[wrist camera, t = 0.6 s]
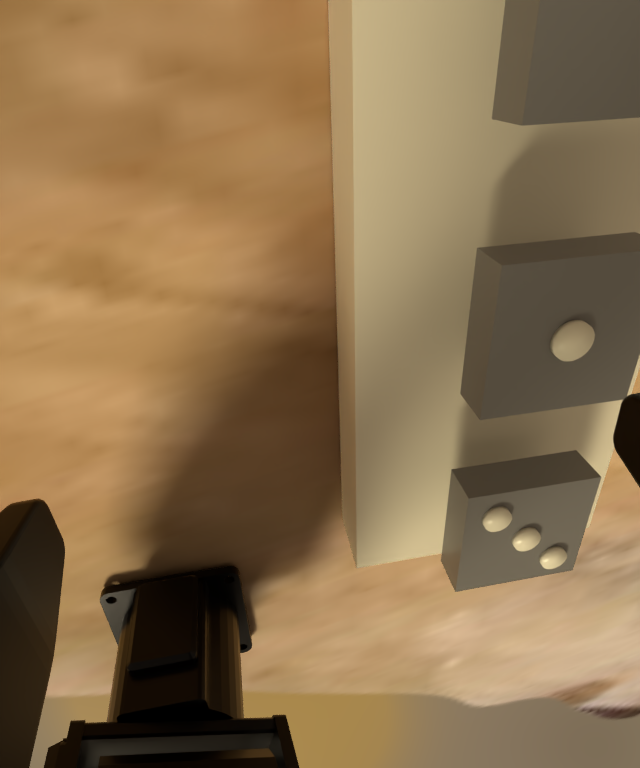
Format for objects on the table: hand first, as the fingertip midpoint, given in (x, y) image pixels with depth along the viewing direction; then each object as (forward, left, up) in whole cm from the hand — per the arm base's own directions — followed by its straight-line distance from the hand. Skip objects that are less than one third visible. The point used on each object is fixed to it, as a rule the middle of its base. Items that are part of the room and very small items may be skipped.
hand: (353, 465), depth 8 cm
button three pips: (-10, -8, -7) cm, 14 cm away
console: (-2, -8, -12) cm, 14 cm away
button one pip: (-2, -8, -7) cm, 11 cm away
